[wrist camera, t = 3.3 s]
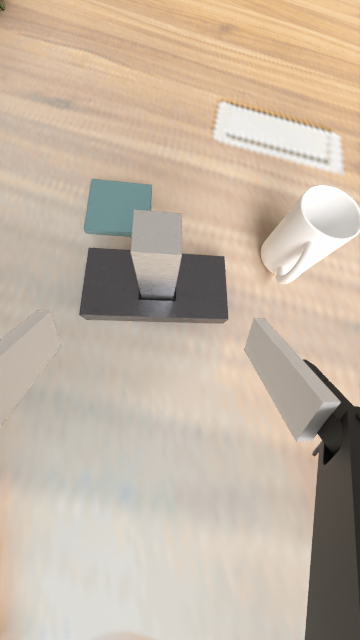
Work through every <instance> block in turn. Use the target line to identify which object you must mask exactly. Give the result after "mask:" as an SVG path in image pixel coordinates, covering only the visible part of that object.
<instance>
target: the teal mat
mask: <svg viewBox="0 0 360 640" xmlns="http://www.w3.org/2000/svg"><path fill="white" fill-rule="evenodd" d="M134 210H145V211H150V210H151V185H148V184H138V183H128V182H118V181H108V180H98V179H91V186H90V192H89V199H88V205H87V212H86V218H85V225H84V230H85V232H86V233H88V234H102V235H116V236H130V237H132V228H133V215H134Z"/></svg>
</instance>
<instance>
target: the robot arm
mask: <svg viewBox="0 0 360 640" xmlns="http://www.w3.org/2000/svg"><path fill="white" fill-rule="evenodd" d="M60 347H61V344H60V341H59V338H58V334H57V331H56V327H55V324H54V320H53V317H52V313H51V311H40V310H37V311H36V312H35V313H34V314H32V315H31V316H30V317H29V318H27V319H26V320H25V321H24V322H22V323H21V324H20V325H19V326H17V327H16V328H15V329H14V330H13V331H11V332H10V333H9V334H8V335H6V336H5V337H4V338H3V339H1V340H0V427H1V426H2V425H3V423H4V422H5V421H6V419H7V418H8V417H9V415H10V414H11V413H12V411H13V410H14V409H15V407H16V406H17V405H18V403H19V402H20V401H21V399H22V398H23V397H24V395H25V394H26V393H27V391H28V390H29V389H30V387H31V386H32V385H33V383H34V382H35V381H36V379H37V378H38V377H39V375H40V374H41V373H42V371H43V370H44V369H45V367H46V366H47V365H48V363H49V362H50V361H51V359H52V358H53V356H54V355H55V354H56V352H57V351H58V350H59V348H60ZM244 350H245V352H246V354H247V356H248V357H249V359H250V361H251V363H252V364H253V366H254V368H255V370H256V371H257V373H258V375H259V377H260V379H261V380H262V382H263V384H264V386H265V387H266V389H267V391H268V393H269V394H270V396H271V398H272V400H273V402H274V403H275V405H276V407H277V409H278V410H279V412H280V414H281V416H282V417H283V419H284V421H285V423H286V425H287V426H288V428H289V430H290V432H291V433H292V435H293V437H294V439H295V440H296V442H297V441H312V440H313V438H314V437H315V436H316V434H317V433H318V435H319V436H320V438H321V439H322V442H321V443H320V444H319V445H318V446H317V448H316V449H315V450H314V452H313V454H312V455H314V456H316V455H317V453H318V452H319V459H318V472H317V485H316V498H315V512H314V525H313V538H312V552H311V565H310V578H309V592H308V605H307V618H306V632H305V640H360V407H355V406H353V405H352V404H351V403H350V402H349V401H348V400H347V399H346V398H345V397H344V396H343V394H342V393H341V392H340V391H339V390H338V389H337V388H336V387H335V386H334V385H333V384H332V383H331V382H329V381H328V379H327V378H326V377H325V376H324V375H323V374H322V373H321V371H320V370H319V369H318V368H317V367H316V366H314V365H313V364H312V363H310V362H309V361H307V360H302V359H301V358H300V357H299V356H298V354H297V353H296V352H295V351H294V350H293V349H292V348H291V347H290V346H289V345H288V343H287V342H286V341H285V340H284V339H283V338H282V337H281V336H280V335H279V334H278V333H277V331H276V330H275V329H274V328H273V327H272V326H271V325H270V324H269V323H268V322H267V320H266V319H265V318H254V319H253V323H252V326H251V329H250V332H249V336H248V339H247V342H246V345H245V348H244Z"/></svg>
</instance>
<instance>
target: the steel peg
mask: <svg viewBox="0 0 360 640" xmlns="http://www.w3.org/2000/svg"><path fill="white" fill-rule="evenodd" d="M131 255H132V260H133V264H134V268H135V272H136V276H137V281H138V285H139V289H140V293H141V298H142V300H160V301H173V297H174V292H175V287H176V282H177V277H178V272H179V267H180V262H181V257H182V214H180V213H168V212H157V211H145V210H134V215H133V228H132V241H131Z"/></svg>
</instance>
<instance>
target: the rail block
mask: <svg viewBox="0 0 360 640" xmlns="http://www.w3.org/2000/svg"><path fill="white" fill-rule="evenodd" d="M140 297H141V293H140V289H139V285H138V281H137V276H136V272H135V268H134V264H133V260H132V255H131V250H116V249H100V248H89V250H88V257H87V264H86V271H85V278H84V285H83V292H82V300H81V307H80V314H79V315H80V316H82V317H83V318H85V319H86V320H117V321H153V322H188V323H224V322H225V321H227V320H228V307H227V291H226V276H225V260H224V256H208V255H193V254H182V257H181V262H180V267H179V272H178V277H177V282H176V287H175V301H160V300H140Z"/></svg>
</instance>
